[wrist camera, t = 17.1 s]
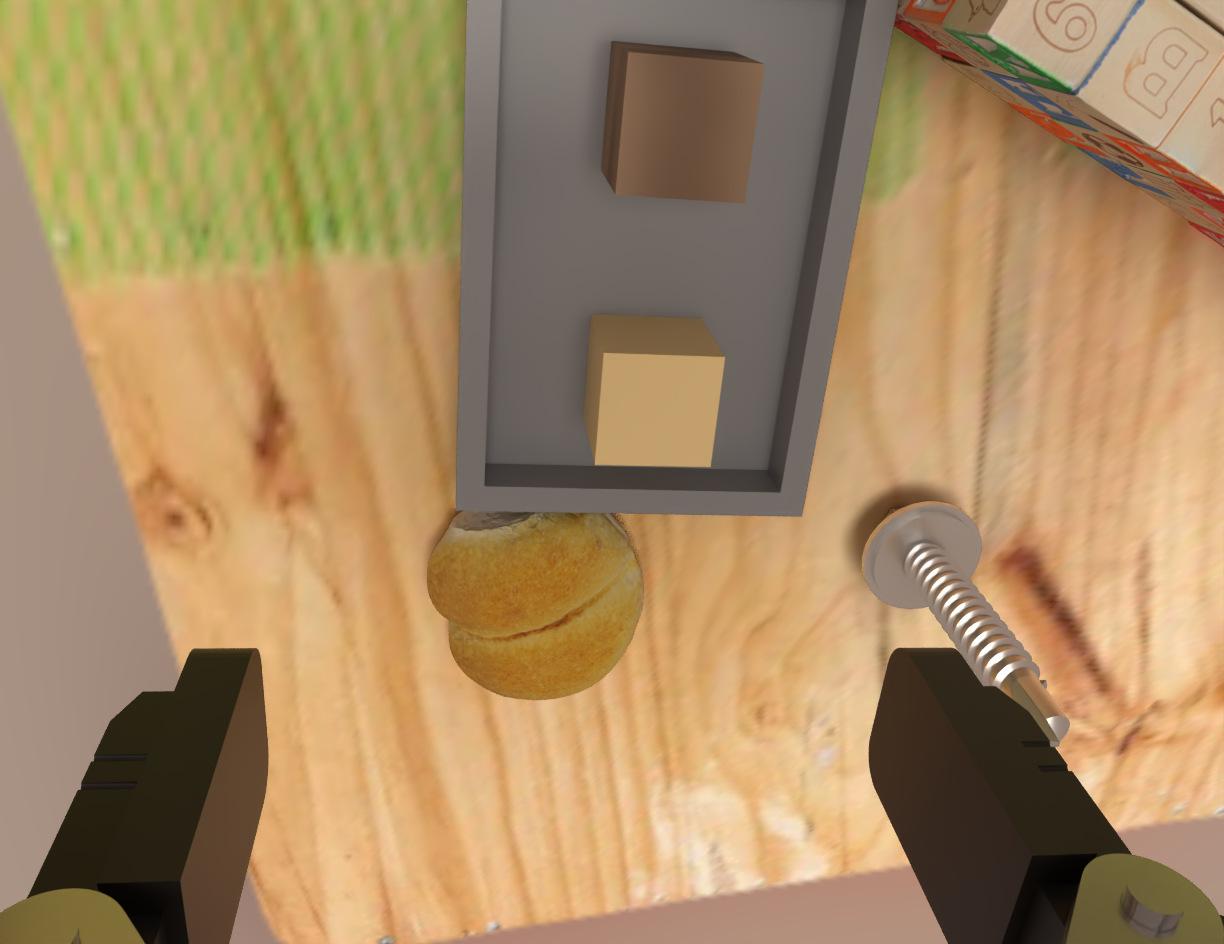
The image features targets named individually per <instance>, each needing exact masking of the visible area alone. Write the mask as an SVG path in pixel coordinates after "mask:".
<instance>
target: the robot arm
mask: <svg viewBox="0 0 1224 944" xmlns="http://www.w3.org/2000/svg"><path fill="white" fill-rule="evenodd" d="M94 757H95V758H94V762H91V763H90V765H89V768H88V770H87V772H86V774H85V776H84V778H83V780H82V783H81V790H78V791H77V793H76V795H75V797H74V799H73V802H72V804H71V806H70V808H69V810H68V812H67V814H66V816H65V819H64V821H63V823H62V825H61V827H60V829H59V832H58V834H57V836H56V838H55V840H54V842H53V844H52V846H51V849H50V851H49V853H48V855H47V857H46V859H45V861H44V863H43V866H42V868H41V870H40V872H39V874H38V876H37V878H36V881H35V883H34V885H33V887H32V889H31V891H30V894H29V895H28V897H27V899H25V900H22V901H20V902H18V903H16V904H14V905H12V906H11V907H9V908H7V909H5V910H4V911H3V912H1V913H0V944H229V941H230V938H231V934H232V929H233V925H234V921H235V917H236V913H237V909H238V905H239V901H240V897H241V893H242V889H243V884H244V880H245V877H246V872H247V868H248V864H249V860H250V856H251V852H252V848H253V844H254V840H255V836H256V832H257V828H258V824H259V820H260V815H261V811H262V807H263V803H264V799H265V793H266V786H267V777H268V738H267V726H266V714H265V702H264V689H263V677H262V665H261V658H260V653H259V651H258V649H257V648H217V649H193V650H192V651H191V652H190V654H189V656H188V658H187V660H186V663H185V665H184V668H183V670H182V673H181V675H180V678H179V680H178V683H177V685H176V688H175V690H174V691H165V692H142V693H141V694H140V695H138V696H137V697H136V698H135V699H134V700H133V701H132V702H131V703H130V704H129V705H127V706H126V707H125V708H124V709H123V710H122V711H121V712H120V713H119V714H117V715H116V716H115V717H114V718H113V719H112V720H111V721H110V723H109V725H108V727H107V729H106V731H105V733H104V735H103V738H102V740H101V742H100V744H99V746H98V748H97V750H96V753H95V755H94ZM869 767H870V773H871V778H872V782H873V785H874V788H875V790H876V792H877V794H878V796H879V799H880V801H881V803H882V805H883V807H884V809H885V811H886V813H887V815H888V818H889V820H890V822H891V824H892V826H893V828H894V830H895V832H896V834H897V837H898V839H899V841H900V843H901V845H902V847H903V849H904V851H905V853H906V856H907V858H908V860H909V862H910V864H911V866H912V868H913V870H914V872H915V875H916V877H917V879H918V881H919V883H920V885H921V887H922V889H923V891H924V894H925V896H926V898H927V900H928V902H929V904H930V906H931V908H932V910H933V912H934V915H935V917H936V919H937V921H938V923H939V925H940V927H941V929H942V932H943V934H944V936H945V938H946V940H947V942H948V944H1224V916H1222V915H1219V913H1218V911H1217V909H1216V908H1215V906H1214V905H1213V904H1212V902H1211V901H1210V900H1209V898H1208V897H1207V896H1206V895H1205V894H1204V893H1203V892H1202V891H1201V890H1200V889H1199V888H1198V887H1197V886H1196V885H1194V884H1193V883H1192V882H1191V881H1189V880H1188V879H1187V878H1185V877H1184V876H1182V875H1181V874H1179V873H1178V872H1176V871H1174V870H1173V869H1171V868H1169V867H1167V866H1165V865H1163V864H1161V863H1158V862H1156V861H1153V860H1150V859H1147V858H1144V857H1140V856H1136V855H1132V854H1131V852H1130V851H1129V850H1128V848H1127V847H1126V845H1125V844H1124V843H1123V841H1122V840H1121V838H1120V837H1119V836H1118V834H1117V833H1116V831H1115V830H1114V829H1113V827H1112V826H1111V825H1110V823H1109V822H1108V820H1107V819H1106V818H1105V816H1104V815H1103V813H1102V812H1101V811H1100V809H1099V808H1098V807H1097V805H1096V804H1095V802H1094V801H1093V800H1092V798H1091V797H1090V795H1089V794H1088V793H1087V791H1086V790H1085V789H1084V787H1083V786H1082V784H1081V783H1080V782H1079V780H1078V779H1077V777H1076V776H1075V775H1074V773H1073V772H1072V771H1068V769H1067V764H1066V762H1065V761H1064V759H1063V758H1062V757H1061V755H1060V754H1059V753H1058V751H1057V750H1056V748H1055V747H1051V746H1050V740H1049V739H1048V737H1047V736H1046V735H1045V733H1044V732H1043V730H1042V729H1041V728H1040V726H1039V725H1038V723H1037V722H1036V721H1035V719H1034V718H1033V717H1032V715H1031V714H1030V712H1029V711H1028V710H1026V709H1025V708H1024V707H1022V706H1021V705H1020V704H1018V703H1017V702H1016V701H1014V700H1013V699H1012V698H1011V697H1009V696H1008V695H1007V694H1005V693H1004V692H1003V691H1001V690H1000V689H999V688H997V687H996V686H983V685H982V684H981V682H980V681H979V680H978V678H977V677H976V675H975V674H974V672H973V671H972V669H971V668H970V666H969V665H968V663H967V662H966V661H965V659H964V658H963V656H962V655H961V654H960V652H959V651H957V650H956V649H954V648H897V649H896V650H894V651H893V653H892V654H891V656H890V659H889V662H888V666H887V670H886V674H885V678H884V682H883V686H882V691H881V695H880V699H879V703H878V707H877V711H876V715H875V720H874V724H873V728H872V732H871V736H870V741H869Z"/></svg>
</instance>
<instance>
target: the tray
mask: <svg viewBox="0 0 1224 944" xmlns="http://www.w3.org/2000/svg"><path fill="white" fill-rule="evenodd" d="M897 6H898V0H467V26H466V71H465V115H464V159H463V204H462V248H461V293H460V337H459V382H458V426H457V471H456V510H458V511H514V512H571V513H627V514H684V515H740V516H797V517H802V513H803V508H804V503H805V497H806V492H807V487H808V481H809V476H810V471H811V465H812V460H813V455H814V449H815V444H816V439H817V433H818V428H819V423H820V417H821V412H822V407H823V401H824V396H825V391H826V385H827V380H828V375H829V369H830V364H831V358H832V353H833V348H834V342H835V337H836V332H837V326H838V321H839V316H840V310H841V305H842V300H843V294H844V289H845V284H846V278H847V273H848V268H849V262H850V257H851V252H852V246H853V241H854V236H855V230H856V225H857V220H858V214H859V209H860V204H861V198H862V193H863V187H864V182H865V177H866V171H867V166H868V161H869V155H870V150H871V145H872V139H873V134H874V129H875V123H876V118H877V113H878V107H879V102H880V97H881V91H882V86H883V81H884V75H885V70H886V65H887V59H888V54H889V49H890V43H891V38H892V32H893V27H894V22H895V16H896V11H897ZM612 41H619V42H630V43H641V44H652V45H663V46H674V47H685V48H696V49H707V50H718V51H730V52H736V53H738V54H741V55H743V56H746V57H748V58H751V59H753V60H756V61H758V62H761V63H763V64H765V67H764V74H763V81H762V88H761V95H760V102H759V108H758V115H757V122H756V129H755V136H754V143H753V150H752V157H751V163H750V170H749V177H748V184H747V191H746V198H745V204H743V203H729V202H714V201H700V200H685V199H671V198H656V197H642V196H627V195H615V193H614V192H613V190H612V188H611V186H610V185H609V183H608V181H607V180H606V178H605V176H604V174H603V173H602V171H601V160H602V148H603V136H604V124H605V112H606V101H607V89H608V77H609V65H610V53H611V42H612ZM591 314H598V315H624V316H649V317H675V318H700V319H702V321H703V322H704V324H705V325H706V327H707V329H708V330H709V332H710V333H711V335H712V337H713V338H714V340H715V341H716V343H717V345H718V346H719V348H720V350H721V351H722V353H723V354H724V356H725V362H724V370H723V377H722V385H721V392H720V400H719V407H718V415H717V422H716V430H715V437H714V445H713V452H712V460H711V467H679V466H625V465H595V463H594V459H593V455H592V451H591V447H590V443H589V438H588V434H587V430H586V426H585V422H584V405H585V391H586V377H587V363H588V350H589V336H590V322H591Z"/></svg>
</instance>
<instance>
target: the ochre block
mask: <svg viewBox="0 0 1224 944" xmlns="http://www.w3.org/2000/svg"><path fill="white" fill-rule="evenodd" d="M724 362H725V356H724V354H723V353H722V351H721V350H720V348H719V346H718V345H717V343H716V341H715V340H714V338H713V337H712V335H711V333H710V332H709V330H708V329H707V327H706V325H705V324H704V322H703V321H702V319H700V318H675V317H649V316H624V315H598V314H591V322H590V336H589V350H588V363H587V377H586V391H585V405H584V422H585V426H586V430H587V434H588V438H589V443H590V447H591V451H592V455H593V459H594V463H595V465H625V466H679V467H711V460H712V452H713V445H714V437H715V430H716V422H717V415H718V407H719V400H720V392H721V385H722V377H723V370H724Z"/></svg>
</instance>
